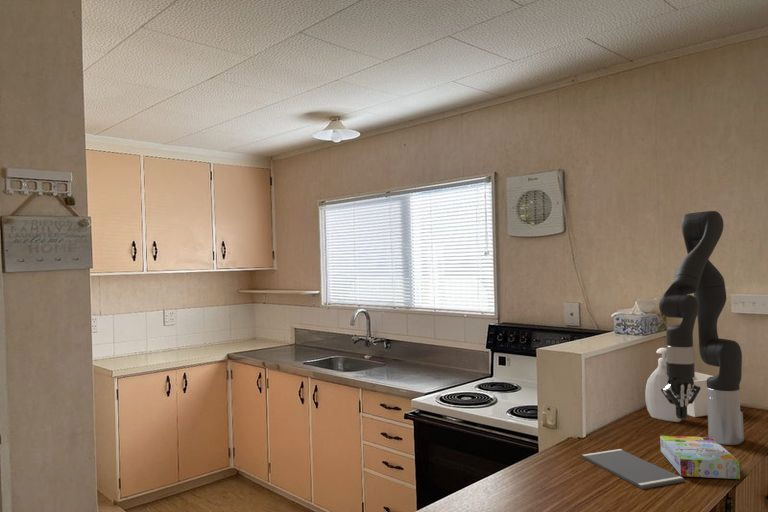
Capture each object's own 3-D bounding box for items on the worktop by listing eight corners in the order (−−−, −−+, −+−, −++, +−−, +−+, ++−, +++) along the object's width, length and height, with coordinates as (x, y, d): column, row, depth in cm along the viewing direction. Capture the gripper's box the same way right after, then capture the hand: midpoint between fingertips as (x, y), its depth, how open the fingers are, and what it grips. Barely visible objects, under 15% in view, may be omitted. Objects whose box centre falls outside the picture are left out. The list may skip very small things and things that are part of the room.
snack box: (680, 478, 157) (741, 480, 154) (679, 458, 157) (739, 459, 154) (660, 452, 178) (713, 453, 175) (659, 434, 178) (712, 435, 175)
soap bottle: (692, 421, 207) (689, 348, 208) (682, 426, 202) (679, 351, 202) (652, 414, 219) (650, 344, 219) (642, 418, 214) (639, 346, 214)
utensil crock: (694, 406, 228) (693, 371, 228) (724, 415, 214) (723, 378, 215) (665, 410, 224) (664, 374, 224) (694, 419, 210) (693, 381, 211)
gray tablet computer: (619, 451, 179) (619, 448, 179) (684, 481, 155) (684, 478, 155) (581, 457, 175) (581, 454, 175) (642, 489, 151) (642, 485, 151)
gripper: (687, 357, 176) (689, 413, 176) (652, 360, 173) (654, 417, 172) (708, 361, 169) (709, 419, 169) (671, 364, 165) (673, 424, 165)
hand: (681, 418), depth 171 cm, fingers closed
